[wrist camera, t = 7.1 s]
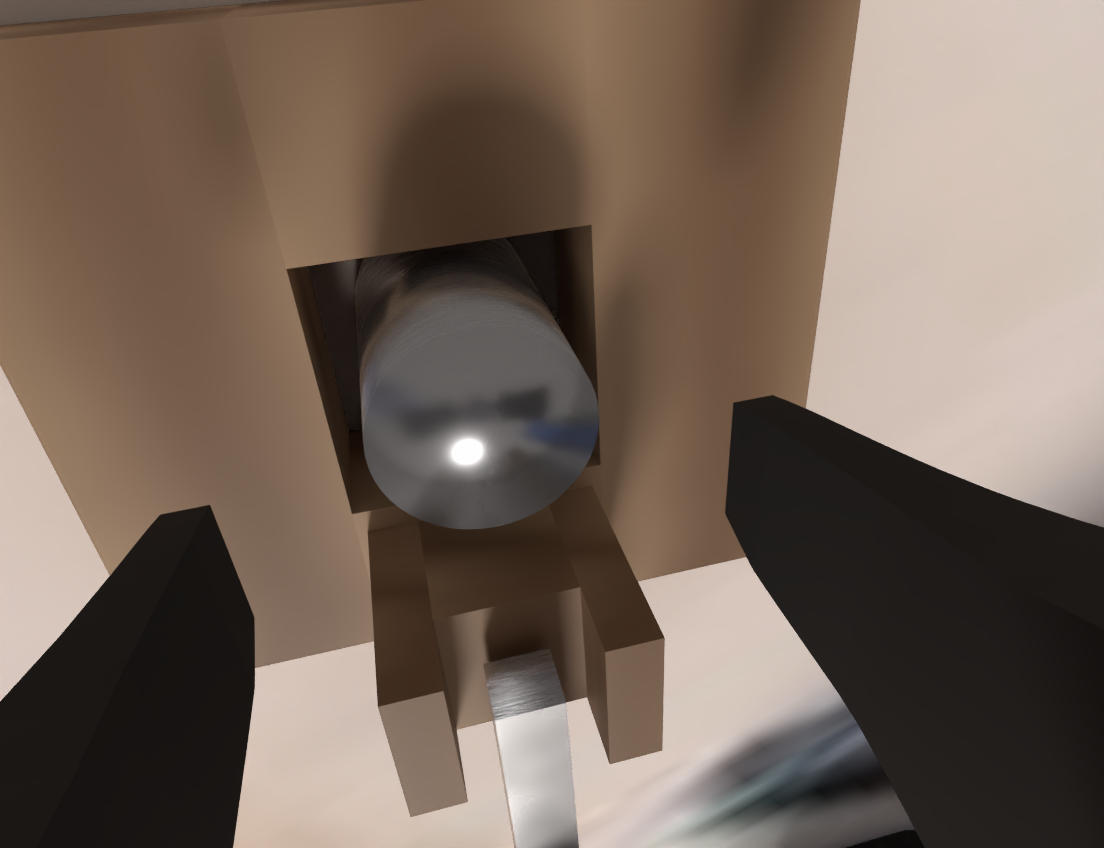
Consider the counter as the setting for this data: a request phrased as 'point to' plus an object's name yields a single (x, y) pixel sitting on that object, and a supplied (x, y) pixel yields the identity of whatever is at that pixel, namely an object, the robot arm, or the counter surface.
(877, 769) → the counter surface
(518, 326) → the shiny metal cylinder
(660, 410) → the mount
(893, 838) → the beer stein
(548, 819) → the lock pin
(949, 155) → the counter surface
